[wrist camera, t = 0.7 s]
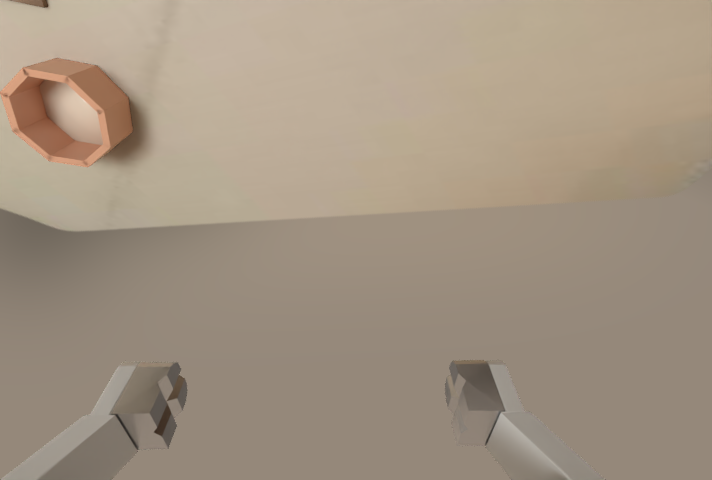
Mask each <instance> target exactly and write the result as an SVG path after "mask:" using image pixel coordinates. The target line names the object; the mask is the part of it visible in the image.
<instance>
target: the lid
mask: <svg viewBox="0 0 712 480" xmlns="http://www.w3.org/2000/svg"><path fill="white" fill-rule="evenodd" d="M11 1H16V2H21V3H26V4H30V5H35V6H40V7H47V2H46V0H11Z"/></svg>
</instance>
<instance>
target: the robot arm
mask: <svg viewBox="0 0 712 480" xmlns="http://www.w3.org/2000/svg"><path fill="white" fill-rule="evenodd" d="M449 369H450V373H451V374H450V375H449V376H448V377H447V378H446V383H445V395H446V402H447V406H448V409H449V410H450V411H451V412H452V413H453V414H454V416H453V420H452V428H453V431H454V436H455V440H456V444H457V445H465V446H466V445H467V446H486V449H487V450H488V451H489V452H490V454H491V455H492V456H493V457H494V458H495V460H496V461H497V462H498V464H499V465H500V466H501V467H502V469H503V470H504V471H505V472H506V474H507V475H508V476H509V477H510V478H511V480H606V479H604V478H603V477H602V476H601V475H600V474H599V473H598V472H597V471H596V470H594V469H593V468H592V467H591V466H590V465H589V464H588V463H586V461H584V460H583V459H582V458H581V457H580V456H579V455H578V454H577V453H576V452H574V451H573V450H572V449H571V448H570V447H569V446H568V445H567V444H565V443H564V442H563V441H562V440H561V439H560V438H559V437H558V436H557V435H556V434H555V433H553V432H552V431H551V430H550V429H549V428H548V427H547V426H546V425H545V424H543V423H542V422H541V421H540V420H539V419H538V418H537V417H536V416H535V415H533V414H532V413H531V412H530V411H525V410H524V408H523V406H522V403H521V401H520V398H519V396H518V394H517V391H516V389H515V386H514V384H513V381H512V379H511V377H510V374H509V372H508V369H507V367H506V365H505V363H504V362H503V361H501V360H492V361H491V360H490V361H484V360H462V361H452V362H451V364H450V367H449ZM180 371H181V368H180V366H179V364H178V363H177V362H123V363H122V364H121V365H120V366H119V367H118V368H117V369H116V371H115V373H114V374H113V376H112V378H111V380H110V382H109V383H108V385H107V386H106V388H105V390H104V392H103V393H102V395H101V397H100V398H99V400H98V402H97V404H96V405H95V407H94V409H93V410H92V412H91V414H90V415H84V416H83V417H82V418H80V419H79V420H78V421H76V422H75V423H74V424H72V425H71V426H70V427H68V428H67V429H66V430H64V431H63V432H62V433H61V434H59V435H58V436H57V437H55V438H54V439H53V440H51V441H50V442H49V443H48V444H46V445H45V446H44V447H42V448H41V449H40V450H39V451H37V452H36V453H34V454H33V455H32V456H31V457H29V458H28V459H27V460H25V461H24V462H23V463H21V464H20V465H19V466H17V467H16V468H15V469H14V470H12V471H11V472H10V473H8V474H7V475H6V476H4V477H3V478H2V479H0V480H112V479H113V478H114V477H115V476H116V475H117V473H118V472H119V471H120V470H121V469H122V468H123V467H124V466H125V465H126V464H127V463H128V462H129V461H130V460H131V459H132V458H133V456H134V455H135V454H136V453H137V452H138V451H137V450H146V449H168V448H169V445H170V443H171V440H172V437H173V435H174V432H175V429H176V427H177V424H176V422H175V419H174V418H175V417H176V416H177V415H178V414H179V413H181V412H182V410H183V408H184V405H185V402H186V397H187V383H186V380H185V378H183V377H182V376H180V375H179V374H180Z"/></svg>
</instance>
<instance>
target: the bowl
mask: <svg viewBox="0 0 712 480" xmlns="http://www.w3.org/2000/svg"><path fill="white" fill-rule="evenodd" d="M0 94H1V97H2V100H3V103H4V106H5V110H6V113H7V116H8V119H9V122H10V125H11V128H12V131H13V132H14V133H15V134H16V135H18V136H19V137H20V138H21V139H22V140H24V141H25V142H26V143H27V144H29V145H30V146H31V147H32V148H34V149H35V150H36V151H37V152H38V153H40V154H41V155H42V156H43V157H45V158H46V159H47V160H48V161H52V162H58V163H64V164H71V165H77V166H83V167H89V166H91V165H92V164H93V163H95V162H96V161H97V160H99V159H100V158H101V157H103V156H104V155H105V154H107V153H108V152H109V151H111V150H112V149H113V148H114V147H115V146H117V145H118V144H119V143H120V142H121V141H122V140H124V139H125V138H126V137H127V136H128V135H129V134H131V133H132V132H133V127H132V120H131V113H130V106H129V99H128V96H127V95H126V94H125V93H124V92H123V91H122V90H121V89H120V88H119V87H118V86H117V85H116V84H115V83H114V82H113V81H112V80H111V79H110V78H109V77H108V76H107V75H106V74H105V73H104V72H103V71H102V70H101V69H100V68H99V67H98V66H96V65H91V64H85V63H80V62H75V61H70V60H64V59H59V58H55V59H52V60H48V61H45V62H41V63H38V64H34V65H31V66H27V67H24V68H22V69H21V70H20V71H19V72H18V73H17V74H16V76H15V77H14V78H13V79H12V80H11V81H10V82H9V83H8V84H7V85H6V86H5V88H4V89H3V90H2V91H1V92H0Z"/></svg>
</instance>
